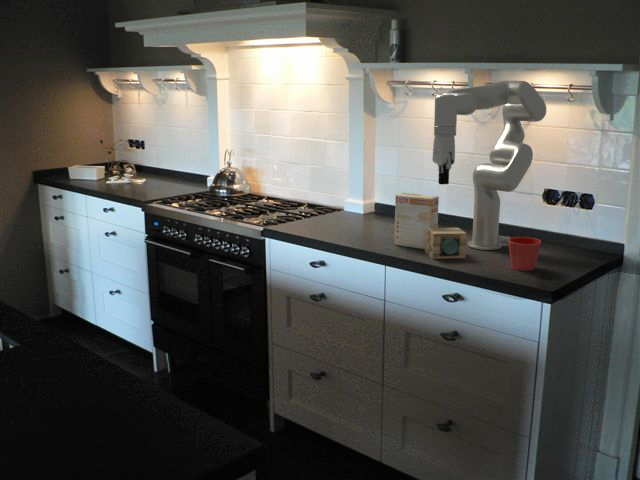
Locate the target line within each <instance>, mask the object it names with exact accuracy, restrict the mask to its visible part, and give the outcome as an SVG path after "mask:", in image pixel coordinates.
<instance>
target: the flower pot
mask: <svg viewBox="0 0 640 480" xmlns="http://www.w3.org/2000/svg"><path fill="white" fill-rule="evenodd" d="M507 243H508V250H509V251H508V253H509V260H510V267H511V269H513V270H516V271H520V272H527V271H528V272H530V271H534V270H535V269H536V266H537V262H538V258H539V257H538V256H539V252H540V250H541V249H540V248H541V244H542V240H541V239H538V238H534V237H527V236H514V237H510V239H509V240H508V242H507Z"/></svg>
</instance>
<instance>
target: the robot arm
mask: <svg viewBox="0 0 640 480" xmlns="http://www.w3.org/2000/svg"><path fill="white" fill-rule="evenodd" d="M546 104H547V103H546V102H545V101H544V99H543V98H542V96H541V94H539V92H538V91H537V89H536V88H534V86H533V85H531V83H529V82H528V81H526V80H500V81H497V82H493V83H489V84H485V85H478V86H472V87H466V88H461V89H460V88H459V89H453V90H450V91H445V92H443V93H442V94H437V95H436V96H435V98H434V118H433V119H434V122H433V124H434V126H433V136H434V138H433V147H432V148H433V149H432V162H433V163H434V164H436V165H437V166H438V171H437V172H438V184H439V185H448V184H450V171H451V169H452V165H454V163H455V161H456V139H455V137H456V136H457V121H458V116H469V115H472V114H474V113H475V112H476V110H479V111H481V110H490V109H494V108H496V107H501V106H502V109H501V111H502V112H501V113H502V119H503V120H502V121H503V129H502V131H501V134H500V136H499V138H498V139H497V141H496V142H495V143H494V145H493V146H492V148H491V150H490V153H489V157H488V158H489V161H490V163H489V162H488V163H480V164H478V165H477V166H476V167H475V168H474V170H473V173H472V181H473V182H472V183H473V191H474V194H473V195H474V202H473V218H472V220H473V222H472V235H471V240H469V241H468V242H467V246H468V247H469V248H471V249H476V250H483V251H492V250H493V251H494V250H499V249H501V248H503V247H502V246H503V244H502V243H504V242H505V243H506V242H507V243H508V240H509V239H510V238H511V237H510V236H504V235H500V234H499V230H500V229H499V226H500V209H501V198H500V195H499V192H505V193H510V192H511V193H512V192H513V191H515V190H516V189H517V188H518V186H520V184H521V181H522V180H523V178H524V176H525V175H526V173H527V172H528V170H529V168H530V167H531V164H532V163H533V156H534V154H533V153H534V152H533V149H532V147H531V146H530V145H529V144H527V143H524V140H525V137H526V136H525V130H524V128H523V126H522V123H521V122H529V123H530V122H531V123H534V122H535V123H537V122H541V121H542V120H543V119H544V118H545V117H546V115H547V105H546ZM498 191H499V192H498Z"/></svg>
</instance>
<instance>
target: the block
mask: <svg viewBox="0 0 640 480" xmlns="http://www.w3.org/2000/svg"><path fill="white" fill-rule="evenodd" d="M467 233H468V232H465V231H464V230H462V229H461V228H459V227H458V226H457V227H438V228H426V241H425V249H424V252H425V253H426V255H428V256H429V257H430V258H431V259H432V260H437V259H439V260H442V259H449V260H450V259H466V256H467V253H466V252H467V238H468V237H467V236H468V234H467ZM443 239H454V240H455V241H456V242H457V243H458V249H457V251H456V252H455V253H454V254H446V253H445V252H444V251H443V249H442V244H443Z"/></svg>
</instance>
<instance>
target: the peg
mask: <svg viewBox="0 0 640 480" xmlns="http://www.w3.org/2000/svg"><path fill="white" fill-rule="evenodd" d="M442 249H443V251H444V252H445V253H446V254H454V253H455V252H456V251H457V249H458V243H457V242H456V241H455V240H454V239H443V244H442Z"/></svg>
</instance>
